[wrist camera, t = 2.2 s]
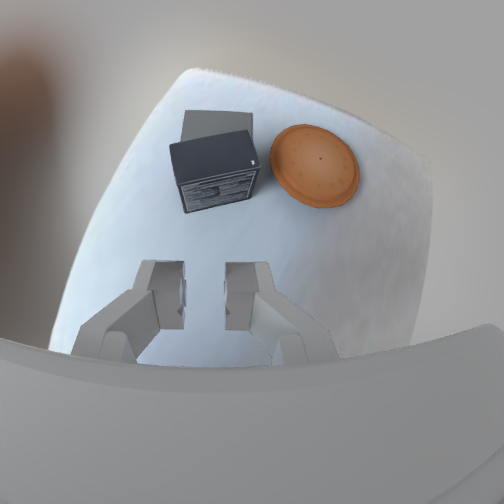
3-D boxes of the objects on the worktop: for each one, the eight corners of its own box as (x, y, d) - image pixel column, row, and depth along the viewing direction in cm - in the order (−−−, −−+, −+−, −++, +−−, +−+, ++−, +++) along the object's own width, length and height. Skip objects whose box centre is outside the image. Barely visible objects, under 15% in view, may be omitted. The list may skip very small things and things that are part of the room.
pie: (345, 227, 43) (359, 218, 39) (255, 198, 42) (261, 186, 37) (353, 153, 47) (365, 139, 42) (275, 125, 45) (282, 108, 40)
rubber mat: (251, 164, 43) (251, 163, 43) (177, 162, 41) (177, 161, 41) (251, 114, 45) (251, 113, 45) (185, 111, 43) (185, 110, 43)
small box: (240, 163, 43) (249, 126, 32) (251, 199, 42) (264, 168, 32) (176, 177, 41) (167, 141, 30) (184, 215, 40) (176, 186, 30)
